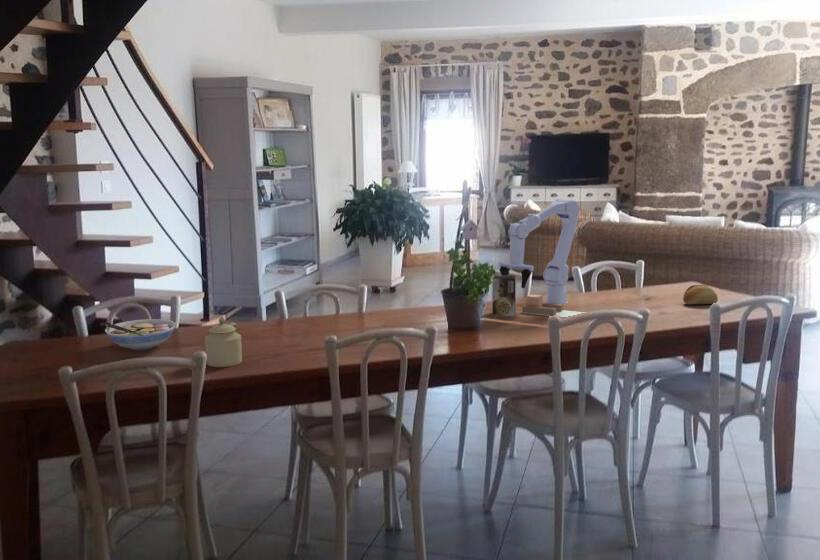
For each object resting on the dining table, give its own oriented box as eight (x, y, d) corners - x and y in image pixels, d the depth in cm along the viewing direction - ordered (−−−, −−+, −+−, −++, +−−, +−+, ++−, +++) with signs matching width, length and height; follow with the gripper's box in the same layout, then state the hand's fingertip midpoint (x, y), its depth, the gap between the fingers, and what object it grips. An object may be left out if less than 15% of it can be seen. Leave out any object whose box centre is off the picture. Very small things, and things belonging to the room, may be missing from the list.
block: (530, 308, 304) (530, 294, 303) (542, 310, 301) (542, 295, 300) (526, 310, 300) (526, 296, 299) (538, 312, 298) (538, 297, 297)
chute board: (532, 309, 308) (533, 300, 307) (590, 315, 295) (590, 306, 295) (521, 315, 297) (521, 306, 297) (580, 321, 285) (580, 312, 285)
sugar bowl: (204, 356, 245) (201, 311, 242) (239, 353, 248) (236, 308, 246) (207, 369, 231) (204, 321, 228) (244, 365, 234) (241, 318, 232)
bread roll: (676, 303, 317) (677, 284, 315) (708, 300, 320) (709, 282, 319) (690, 307, 308) (691, 288, 306) (722, 305, 311) (723, 286, 310)
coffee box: (515, 315, 298) (515, 275, 295) (515, 318, 291) (516, 277, 288) (491, 314, 299) (492, 274, 296) (491, 318, 292) (492, 277, 289)
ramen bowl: (192, 347, 256) (190, 323, 255) (129, 361, 240) (127, 336, 238) (154, 335, 273) (152, 313, 271) (92, 348, 256) (90, 325, 255)
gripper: (496, 252, 302) (493, 285, 304) (530, 255, 294) (527, 290, 296) (503, 251, 308) (500, 283, 310) (536, 254, 300) (534, 288, 302)
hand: (514, 286), depth 303 cm, fingers open, 7 cm apart
